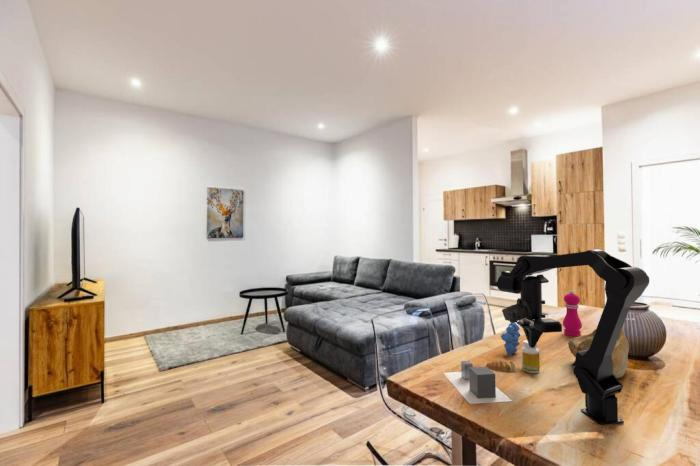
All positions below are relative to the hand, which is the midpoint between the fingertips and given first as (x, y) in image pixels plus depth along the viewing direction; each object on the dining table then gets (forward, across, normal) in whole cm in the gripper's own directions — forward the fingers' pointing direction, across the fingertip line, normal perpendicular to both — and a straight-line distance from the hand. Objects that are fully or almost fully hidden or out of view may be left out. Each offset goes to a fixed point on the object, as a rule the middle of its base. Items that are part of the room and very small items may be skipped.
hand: (531, 347), depth 102 cm
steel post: (+11, -6, -18) cm, 22 cm away
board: (+12, -1, -18) cm, 22 cm away
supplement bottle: (+12, -11, +7) cm, 18 cm away
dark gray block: (+11, +4, -18) cm, 22 cm away
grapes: (+12, -27, +9) cm, 31 cm away
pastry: (+12, -12, -3) cm, 17 cm away
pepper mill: (+12, -44, +50) cm, 67 cm away
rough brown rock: (+12, -10, +30) cm, 34 cm away
